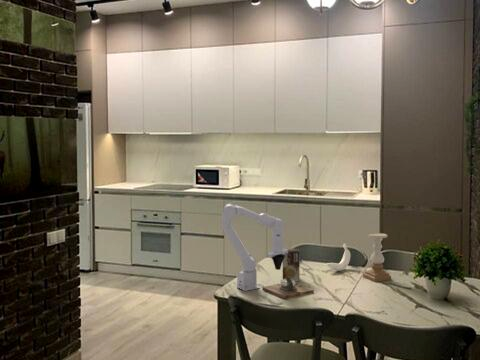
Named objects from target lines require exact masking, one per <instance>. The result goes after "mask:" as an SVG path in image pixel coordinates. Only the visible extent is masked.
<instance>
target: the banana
mask: <svg viewBox="0 0 480 360" xmlns="http://www.w3.org/2000/svg"><path fill="white" fill-rule="evenodd" d="M342 248H343V249H344V253H343V255H342V258H341V261H340V262H339V263H336V262H327V263H326V266H327V268H329V269H331V270H333V271H337V272H342V271H345V270H346V269H347V267H348V266H349V263H350V260H351V252H350V250H349V249H348V247H347V244H346V243H345V242H343V245H342Z"/></svg>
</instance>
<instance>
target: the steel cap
mask: <svg viewBox="0 0 480 360" xmlns="http://www.w3.org/2000/svg"><path fill="white" fill-rule="evenodd" d="M280 283H281V287H283V288H288V289H289V290H293V288H294V287H295V283H296V281H295V280H292V279H290V278H286V279H283V278H282V279H281V280H280Z"/></svg>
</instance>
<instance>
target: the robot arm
mask: <svg viewBox="0 0 480 360" xmlns="http://www.w3.org/2000/svg"><path fill="white" fill-rule="evenodd" d="M240 216H244V217H247V218H249V219H253V220H255V221H257V223H258V224H260V225H262V226H263V227H266V228H270V229H272V233H271V241H272V242H271V244H272V246H271V251H270V252H269V253H267V258H269V259H271V260H272V261H273V264H274V268H275V270H278V271H280V270H281V267H282V265H283V263H282V261H283V259H284V257H285V255H282V254H285V253H288V249H289V248H284V247H285V245H284V244H285V243H284V239H285V238H284V236H285V234H284V229H285V224H284V222H283V220H282V219H280V218H279V217H276V216H272V215H269V214H268V213H267V212H265V213H264V212H262V213H256V212H255V211H253V210H250V209H248V208H245V207H243V206H241V205H237V204H233V203H226V204H225V205H224V207H223V209H222V212H221V224H220V225H221V228H222V230H223V231H224V233H225V235H226V236H227V239H228V240H229V242H230V243H231V245H232V246H233V248H234V250H235V251H236V253H237V255H238V256H239V258H240V261H241V263H242V266H243V267H242V269H241V271H240V272H238V273H237V275H236V279H237V281H236V282H237V283H236V288H237V287H238V288H237V289H239V288H240V289H239V290H241V289H242V291H243V292H244V291H245V292H246V291H252V290H257V289H260V288H261V286H259V285H257V283H258V282H257V281H258V280H257V279H258V277H257V268H256V267H257V264H256V258H255V257H254V256H253V255H251V254H250V253H249V251H248V250H247V249H246V247H245V245H244V243H243V242H242V240H241V238H240V236H239V235H238V233H237V232H236V230H235V228H234V227H233V225H232V223H233V219H234V218H235V217H240Z"/></svg>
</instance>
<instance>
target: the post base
mask: <svg viewBox="0 0 480 360" xmlns="http://www.w3.org/2000/svg"><path fill="white" fill-rule="evenodd" d="M262 291H264V292H266V293H269V294H271V295H273V296H276V297H278V298H281V299H284V300H288V299H292V298H297V297H301V296H306V295H310V294H314V293H315V290H314V289H313V288H310V287H307V286H305V285H303V284H301V283H300V284H299V283H296V282H295V287H294V288H293V290H289V289H288V288H283V287H281V282H280V283H276V284H272V285H267V286H263V287H262Z"/></svg>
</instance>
